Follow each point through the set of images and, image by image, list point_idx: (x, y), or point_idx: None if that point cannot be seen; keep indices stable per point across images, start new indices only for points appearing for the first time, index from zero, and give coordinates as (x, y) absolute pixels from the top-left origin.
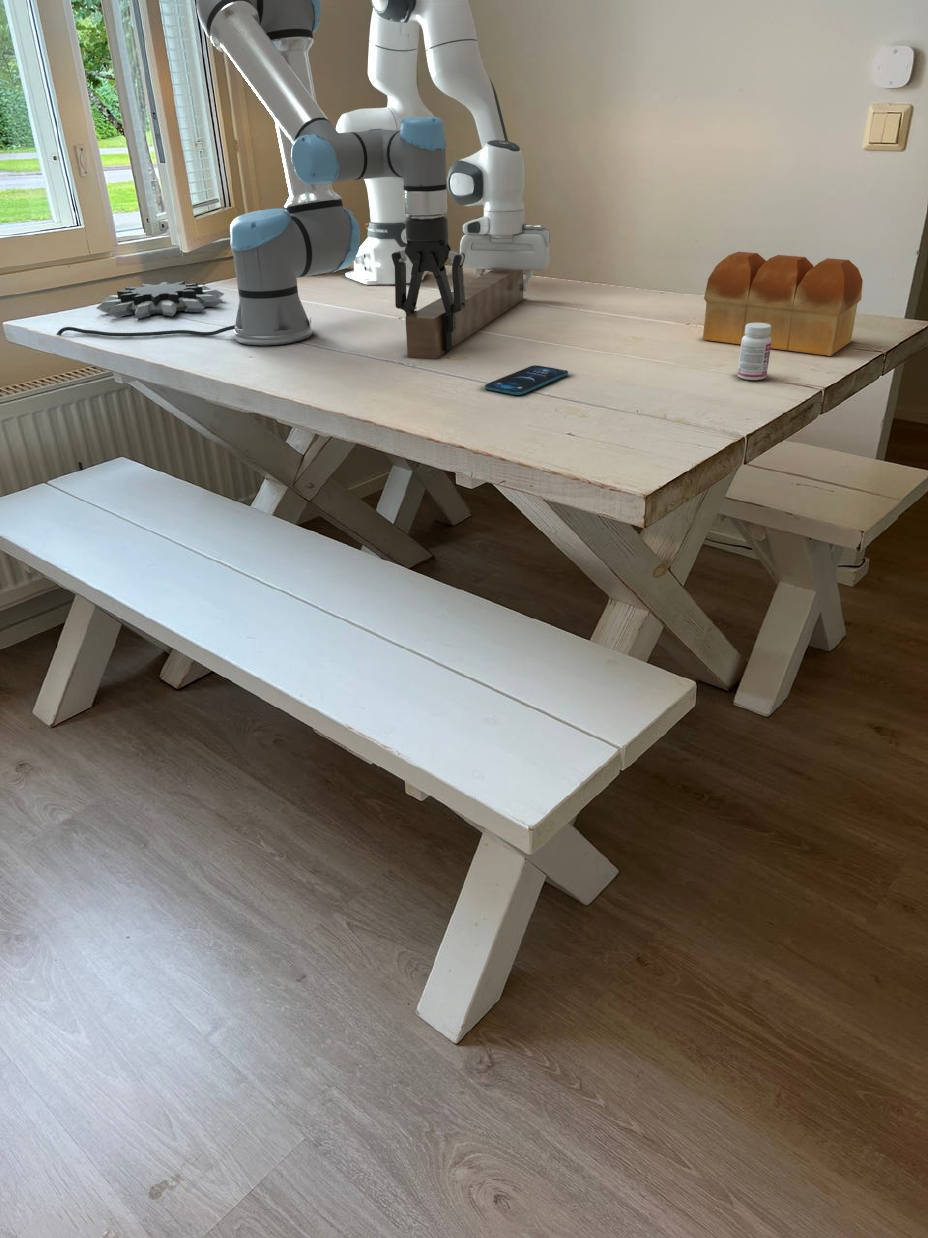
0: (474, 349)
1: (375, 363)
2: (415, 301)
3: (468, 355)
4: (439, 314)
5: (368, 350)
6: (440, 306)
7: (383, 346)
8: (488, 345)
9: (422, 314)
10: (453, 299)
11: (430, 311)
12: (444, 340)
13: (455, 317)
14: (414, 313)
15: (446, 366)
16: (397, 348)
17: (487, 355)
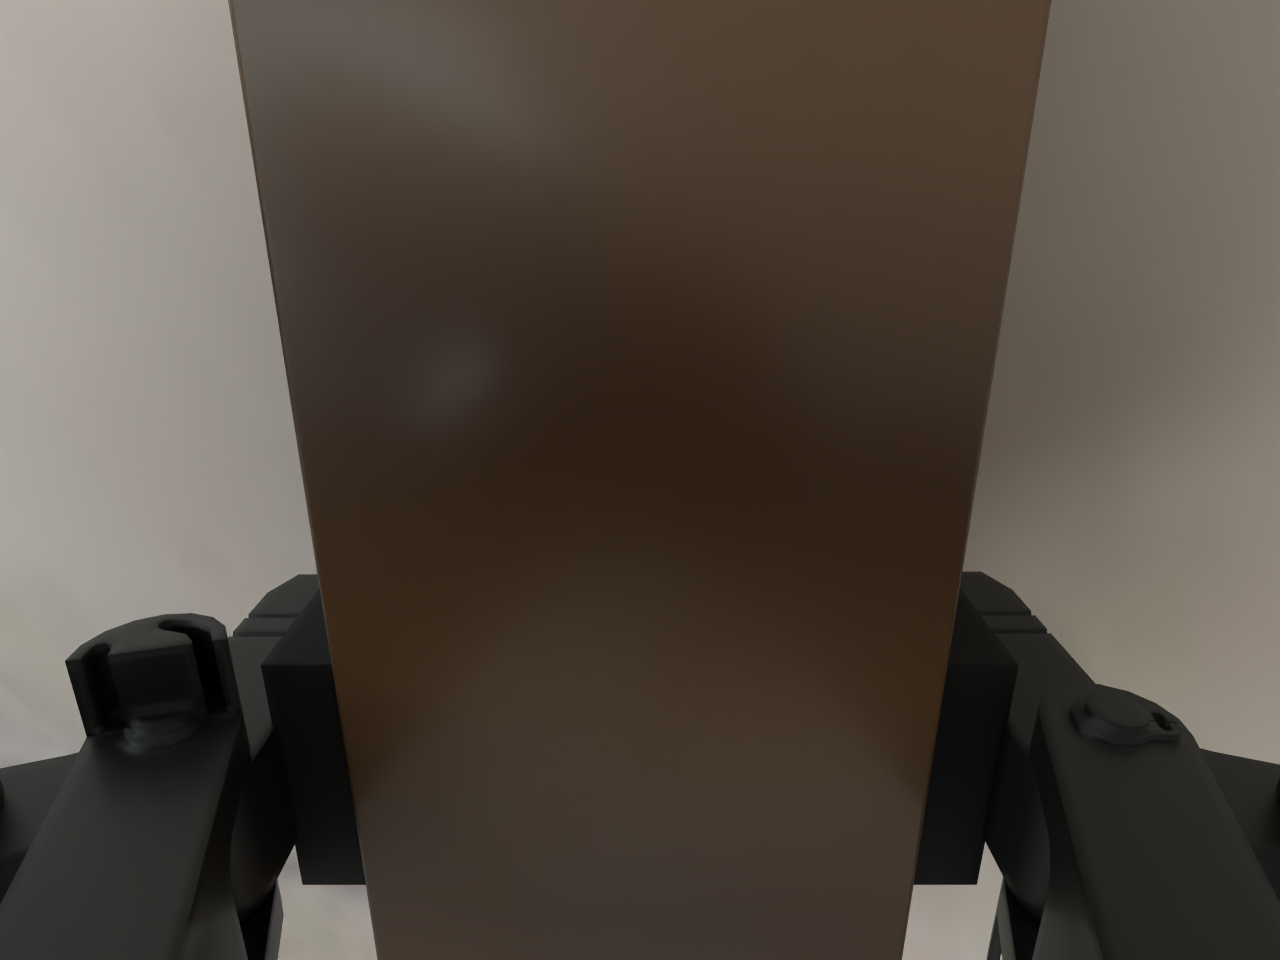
0: (1085, 335)
1: (342, 952)
2: (232, 897)
3: (1061, 574)
4: (880, 933)
5: (7, 634)
6: (658, 306)
7: (39, 459)
8: (1236, 101)
9: None
10: (1264, 886)
11: (633, 782)
12: None
13: (1086, 680)
14: (419, 953)
15: (939, 906)
16: (234, 499)
17: (1259, 531)
